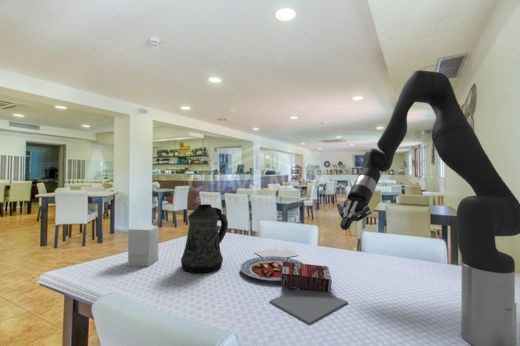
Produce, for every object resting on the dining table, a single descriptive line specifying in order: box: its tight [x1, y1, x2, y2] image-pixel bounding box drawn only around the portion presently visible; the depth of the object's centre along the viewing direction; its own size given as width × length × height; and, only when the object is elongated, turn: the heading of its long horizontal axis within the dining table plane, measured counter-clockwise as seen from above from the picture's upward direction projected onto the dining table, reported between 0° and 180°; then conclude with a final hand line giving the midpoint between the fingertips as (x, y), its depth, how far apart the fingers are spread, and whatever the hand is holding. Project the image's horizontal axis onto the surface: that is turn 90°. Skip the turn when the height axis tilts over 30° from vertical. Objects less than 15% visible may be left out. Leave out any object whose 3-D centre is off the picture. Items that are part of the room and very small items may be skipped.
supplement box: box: [280, 261, 333, 293], centre depth 89 cm, size 9×5×16 cm
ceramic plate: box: [240, 256, 304, 282], centre depth 103 cm, size 26×26×3 cm
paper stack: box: [253, 248, 298, 258], centre depth 132 cm, size 23×25×1 cm
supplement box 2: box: [127, 225, 159, 267], centre depth 112 cm, size 9×9×15 cm
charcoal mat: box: [269, 288, 349, 325], centre depth 78 cm, size 15×18×1 cm
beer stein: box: [180, 203, 229, 275], centre depth 109 cm, size 16×19×25 cm
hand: (343, 228), depth 89 cm, fingers closed
